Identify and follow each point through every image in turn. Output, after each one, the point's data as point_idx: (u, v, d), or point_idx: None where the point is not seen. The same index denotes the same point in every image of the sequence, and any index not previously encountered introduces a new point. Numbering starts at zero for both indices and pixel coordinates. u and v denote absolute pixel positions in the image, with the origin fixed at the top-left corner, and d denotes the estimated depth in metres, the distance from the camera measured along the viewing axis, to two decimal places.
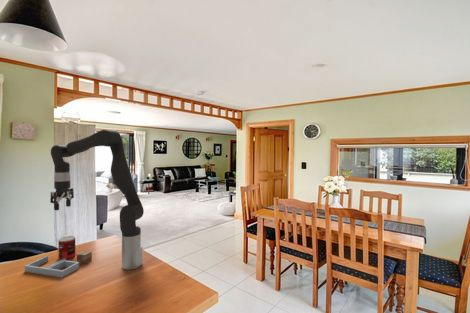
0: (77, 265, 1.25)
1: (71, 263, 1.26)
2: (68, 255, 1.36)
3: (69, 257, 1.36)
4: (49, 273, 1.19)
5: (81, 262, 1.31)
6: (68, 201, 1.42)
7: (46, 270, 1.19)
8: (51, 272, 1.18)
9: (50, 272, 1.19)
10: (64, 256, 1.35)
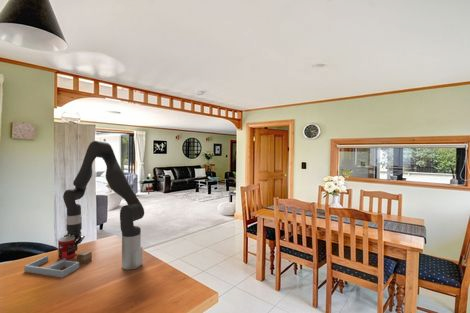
0: (77, 265, 1.25)
1: (71, 263, 1.26)
2: (68, 255, 1.36)
3: (69, 257, 1.36)
4: (49, 273, 1.19)
5: (81, 262, 1.31)
6: (75, 245, 1.43)
7: (46, 270, 1.19)
8: (51, 272, 1.18)
9: (50, 272, 1.19)
10: (64, 256, 1.35)
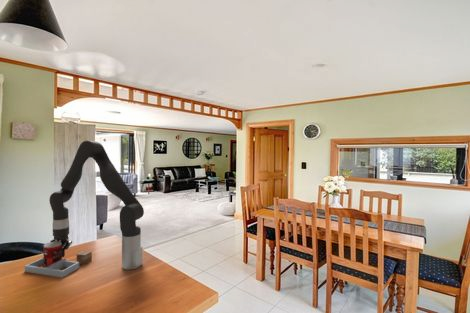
0: (77, 265, 1.25)
1: (71, 263, 1.26)
2: (54, 262, 1.27)
3: None
4: (49, 273, 1.19)
5: (81, 262, 1.31)
6: (62, 251, 1.35)
7: (46, 270, 1.19)
8: (51, 272, 1.18)
9: (50, 272, 1.19)
10: (49, 263, 1.27)
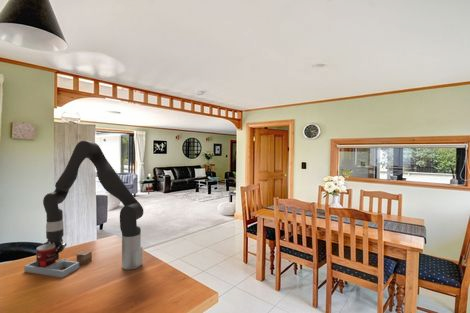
0: (77, 265, 1.25)
1: (71, 263, 1.26)
2: (47, 265, 1.24)
3: None
4: (49, 273, 1.19)
5: (81, 262, 1.31)
6: (56, 254, 1.32)
7: (46, 270, 1.19)
8: (51, 272, 1.18)
9: (50, 272, 1.19)
10: (42, 266, 1.23)
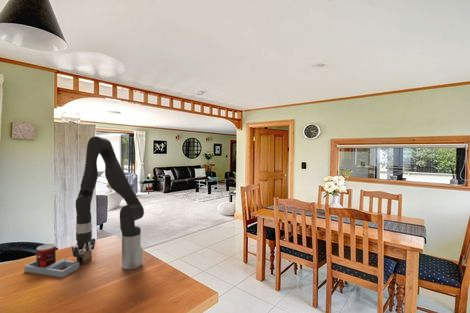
0: (77, 265, 1.25)
1: (71, 263, 1.26)
2: (47, 265, 1.24)
3: None
4: (49, 273, 1.19)
5: None
6: None
7: (46, 270, 1.19)
8: (51, 272, 1.18)
9: (50, 272, 1.19)
10: (42, 266, 1.23)
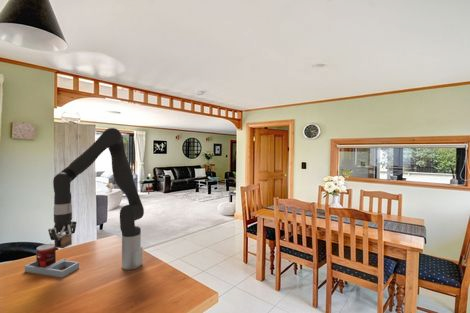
0: (77, 265, 1.25)
1: (71, 263, 1.26)
2: (47, 265, 1.24)
3: None
4: (49, 273, 1.19)
5: None
6: None
7: (46, 270, 1.19)
8: (51, 272, 1.18)
9: (50, 272, 1.19)
10: (42, 266, 1.23)
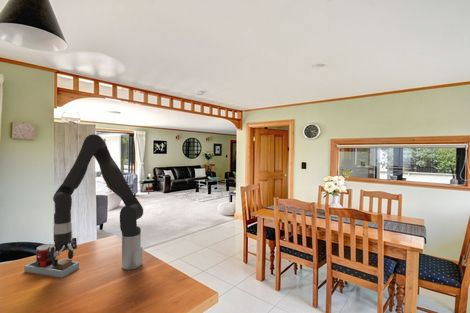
0: (77, 265, 1.25)
1: None
2: (47, 265, 1.24)
3: None
4: (49, 273, 1.19)
5: None
6: None
7: (46, 270, 1.19)
8: (51, 272, 1.18)
9: (50, 272, 1.19)
10: (42, 266, 1.23)
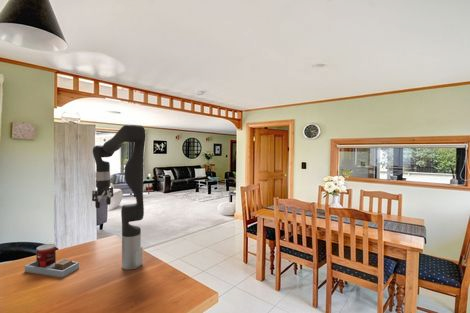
0: (77, 265, 1.25)
1: None
2: (47, 265, 1.24)
3: None
4: (49, 273, 1.19)
5: None
6: None
7: (46, 270, 1.19)
8: (51, 272, 1.18)
9: (50, 272, 1.19)
10: (42, 266, 1.23)
